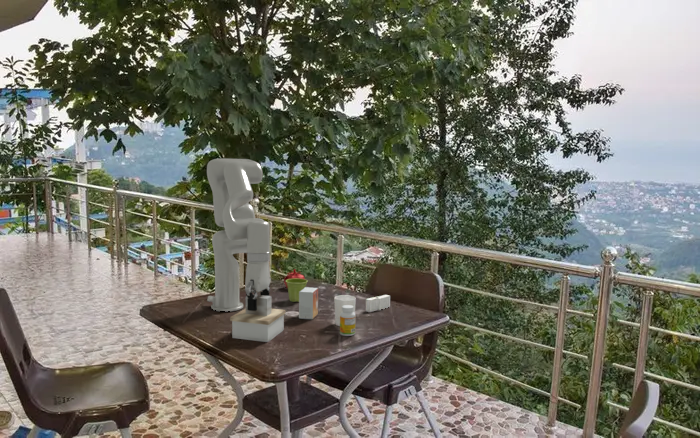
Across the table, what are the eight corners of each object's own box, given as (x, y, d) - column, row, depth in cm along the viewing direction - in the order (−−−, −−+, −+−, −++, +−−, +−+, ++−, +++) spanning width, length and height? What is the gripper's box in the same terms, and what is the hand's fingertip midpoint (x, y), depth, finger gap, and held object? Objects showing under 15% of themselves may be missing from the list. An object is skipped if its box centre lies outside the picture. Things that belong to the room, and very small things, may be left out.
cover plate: (230, 320, 170) (230, 299, 170) (249, 309, 184) (249, 289, 183) (268, 324, 167) (268, 303, 166) (285, 313, 180) (285, 293, 179)
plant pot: (295, 296, 226) (295, 277, 226) (311, 300, 221) (312, 280, 220) (281, 300, 219) (281, 280, 218) (297, 304, 213) (297, 284, 213)
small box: (312, 319, 193) (313, 292, 192) (298, 318, 194) (298, 291, 193) (318, 313, 201) (318, 287, 200) (304, 312, 202) (304, 286, 201)
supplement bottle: (339, 331, 180) (339, 304, 179) (354, 331, 180) (354, 304, 179) (340, 336, 175) (340, 308, 174) (355, 336, 175) (356, 308, 174)
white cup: (339, 328, 183) (340, 301, 182) (330, 322, 190) (330, 296, 189) (359, 325, 187) (359, 299, 185) (349, 319, 193) (349, 294, 192)
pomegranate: (307, 287, 245) (308, 268, 244) (300, 291, 236) (301, 271, 235) (288, 285, 247) (288, 266, 247) (280, 289, 238) (281, 270, 237)
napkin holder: (390, 305, 216) (391, 292, 215) (397, 313, 205) (398, 299, 204) (355, 306, 213) (356, 293, 213) (361, 314, 202) (361, 300, 202)
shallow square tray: (232, 337, 171) (232, 320, 171) (250, 326, 184) (250, 310, 183) (267, 342, 168) (267, 324, 167) (283, 330, 180) (283, 313, 180)
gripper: (259, 252, 182) (259, 299, 184) (236, 261, 166) (236, 312, 167) (279, 253, 180) (279, 301, 182) (257, 262, 164) (257, 314, 165)
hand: (258, 306), depth 175 cm, fingers open, 9 cm apart
